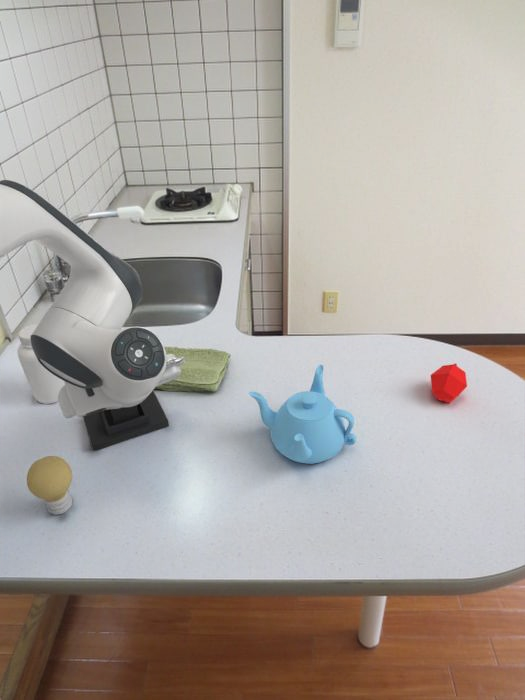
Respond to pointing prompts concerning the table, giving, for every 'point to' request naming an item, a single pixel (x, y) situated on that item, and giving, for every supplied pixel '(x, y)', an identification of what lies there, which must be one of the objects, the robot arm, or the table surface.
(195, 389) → the washcloth
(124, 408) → the pad block
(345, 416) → the teapot
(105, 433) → the base pad
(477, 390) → the table surface
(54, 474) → the light bulb
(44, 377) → the pill bottle
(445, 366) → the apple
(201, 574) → the table surface
